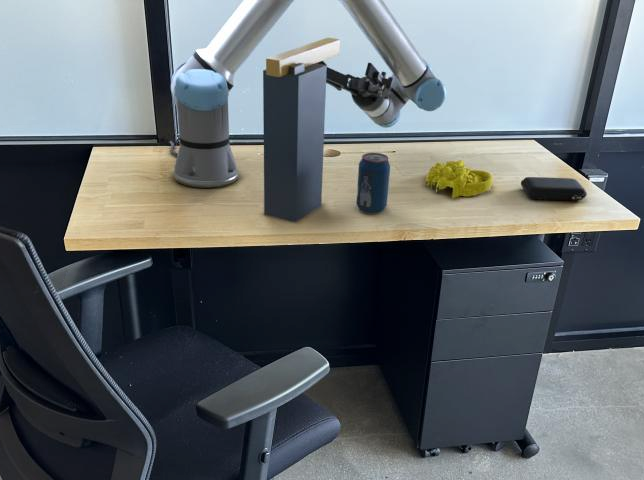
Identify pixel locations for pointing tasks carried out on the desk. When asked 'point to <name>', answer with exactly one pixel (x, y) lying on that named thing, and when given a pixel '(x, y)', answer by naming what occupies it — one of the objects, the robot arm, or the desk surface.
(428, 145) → the desk surface
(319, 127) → the door post
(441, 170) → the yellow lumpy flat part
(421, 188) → the desk surface
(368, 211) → the soda can
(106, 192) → the desk surface
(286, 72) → the bar
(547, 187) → the carrying case
